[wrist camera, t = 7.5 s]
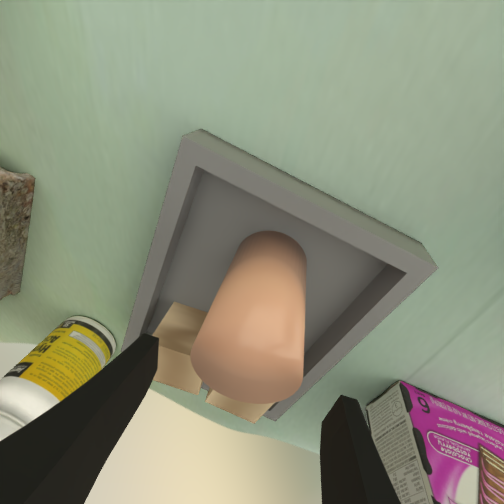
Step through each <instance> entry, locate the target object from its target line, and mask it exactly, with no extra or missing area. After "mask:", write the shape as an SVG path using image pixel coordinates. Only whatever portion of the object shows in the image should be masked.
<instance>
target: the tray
mask: <svg viewBox="0 0 504 504" xmlns="http://www.w3.org/2000/svg"><path fill="white" fill-rule="evenodd" d="M260 231H277V232H281V233H283V234H286V235H288V236H290V237H291V238H293V239H294V240H295V241H297V242H298V244H299V245H300V246H301V247H302V249H303V251H304V253H305V255H306V259H307V275H306V306H305V336H304V366H303V380H302V383H301V386H300V387H299V389H298V390H297V391H296V392H295V393H294V394H293V395H292V396H290V397H289V398H287V399H285V400H282V401H279V402H275V403H274V404H273V405H272V406H271V407H270V408H269V409H268V410H267V411H266V412H265V413H264V414H263V415H262V416H265V417H267V418H269V419H271V420H273V421H276V420H277V419H278V418H279V417H281V416H282V415H283V414H284V413H285V412H286V411H287V410H288V409H289V408H290V407H291V406H292V405H293V404H294V403H295V402H296V401H298V400H299V399H300V398H301V397H302V396H303V395H304V394H305V393H306V392H307V391H308V390H309V389H310V388H311V387H312V386H313V385H315V384H316V383H317V382H318V381H319V380H320V379H321V378H322V377H323V376H324V375H325V374H326V373H327V372H328V371H329V370H330V369H332V368H333V367H334V366H335V365H336V364H337V363H338V362H339V361H340V360H341V359H342V358H343V357H344V356H345V355H346V354H347V353H349V352H350V351H351V350H352V349H353V348H354V347H355V346H356V345H357V344H358V343H359V342H360V341H361V340H362V339H363V338H364V337H365V336H367V335H368V334H369V333H370V332H371V331H372V330H373V329H374V328H375V327H376V326H377V325H378V324H379V323H380V322H381V321H382V320H384V319H385V318H386V317H387V316H388V315H389V314H390V313H391V312H392V311H393V310H394V309H395V308H396V307H397V306H398V305H399V304H401V303H402V302H403V301H404V300H405V299H406V298H407V297H408V296H409V295H410V294H411V293H412V292H413V291H414V290H415V289H416V288H418V287H419V286H420V285H421V284H422V283H423V282H424V281H425V280H426V279H427V278H428V277H429V276H430V275H431V274H432V273H433V272H435V271H436V270H437V269H438V266H437V265H436V263H435V262H434V261H433V259H432V258H431V256H430V255H429V253H428V252H427V251H426V249H425V248H424V246H423V245H422V243H420V242H418V241H416V240H414V239H412V238H411V237H409V236H407V235H405V234H403V233H401V232H399V231H397V230H395V229H393V228H391V227H389V226H387V225H386V224H384V223H382V222H380V221H378V220H376V219H374V218H372V217H370V216H368V215H366V214H364V213H362V212H361V211H359V210H357V209H355V208H353V207H351V206H349V205H347V204H345V203H343V202H341V201H339V200H337V199H336V198H334V197H332V196H330V195H328V194H326V193H324V192H322V191H320V190H318V189H316V188H314V187H312V186H311V185H309V184H307V183H305V182H303V181H301V180H299V179H297V178H295V177H293V176H291V175H289V174H287V173H286V172H284V171H282V170H280V169H278V168H276V167H274V166H272V165H270V164H268V163H266V162H264V161H262V160H261V159H259V158H257V157H255V156H253V155H251V154H249V153H247V152H245V151H243V150H241V149H239V148H237V147H236V146H234V145H232V144H230V143H228V142H226V141H224V140H222V139H220V138H218V137H216V136H214V135H212V134H211V133H209V132H207V131H205V130H203V129H199V130H197V131H194V132H191V133H189V134H186V135H183V136H182V140H181V143H180V147H179V150H178V153H177V157H176V160H175V164H174V167H173V171H172V174H171V178H170V181H169V185H168V188H167V192H166V195H165V199H164V202H163V206H162V209H161V213H160V216H159V220H158V223H157V227H156V230H155V234H154V237H153V241H152V244H151V248H150V251H149V255H148V258H147V262H146V265H145V269H144V272H143V276H142V279H141V283H140V286H139V290H138V293H137V296H136V300H135V303H134V307H133V310H132V314H131V317H130V321H129V324H128V328H127V331H126V335H125V338H124V342H123V345H122V349H121V352H123V351H124V350H125V349H126V348H127V347H129V346H130V345H131V344H132V343H133V342H134V341H135V340H136V339H137V338H138V337H139V336H140V335H142V334H144V333H145V334H148V335H151V336H152V335H153V333H154V332H155V330H156V329H157V327H158V326H159V324H160V323H161V321H162V320H163V318H164V316H165V315H166V313H167V312H168V310H169V309H170V307H171V306H172V304H173V302H177V303H180V304H183V305H186V306H189V307H192V308H195V309H198V310H201V311H204V312H209V309H210V307H211V305H212V303H213V301H214V299H215V297H216V294H217V292H218V290H219V288H220V286H221V284H222V281H223V279H224V277H225V275H226V273H227V271H228V269H229V266H230V264H231V262H232V260H233V258H234V256H235V253H236V251H237V249H238V247H239V245H240V244H241V242H242V241H243V240H244V239H245V238H247V237H248V236H250V235H251V234H254V233H256V232H260ZM201 388H203V389H205V390H207V391H209V388H210V387H209V386H208V385H206V384H205V383H204V382H203V383H202V386H201Z"/></svg>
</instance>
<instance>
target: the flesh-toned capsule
mask: <svg viewBox="0 0 504 504" xmlns="http://www.w3.org/2000/svg"><path fill="white" fill-rule="evenodd" d="M306 275H307V259H306V255H305V253H304V251H303V249H302V247H301V246H300V245H299V244H298V242H297V241H295V240H294V239H293V238H291V237H290V236H288V235H286V234H283V233H281V232H277V231H260V232H256V233H254V234H251V235H250V236H248V237H247V238H245V239H244V240H243V241H242V242H241V244H240V245H239V247H238V249H237V251H236V253H235V256H234V258H233V260H232V262H231V264H230V266H229V269H228V271H227V273H226V275H225V277H224V279H223V281H222V284H221V286H220V288H219V290H218V292H217V294H216V297H215V299H214V301H213V303H212V305H211V307H210V309H209V312H208V314H207V316H206V318H205V320H204V322H203V324H202V327H201V329H200V331H199V333H198V335H197V337H196V340H195V342H194V344H193V346H192V349H191V355H190V358H191V363H192V366H193V368H194V370H195V372H196V374H197V375H198V376H199V378H200V379H201V380H202V381H203V382H204V383H205V384H206V385H208V386H209V387H210V388H211V389H213V390H215V391H216V392H218V393H220V394H222V395H224V396H226V397H228V398H231V399H234V400H237V401H241V402H246V403H253V404H269V403H275V402H279V401H282V400H285V399H287V398H289V397H290V396H292V395H293V394H294V393H295V392H296V391H297V390H298V389H299V387H300V386H301V383H302V380H303V366H304V336H305V306H306Z"/></svg>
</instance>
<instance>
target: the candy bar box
mask: <svg viewBox="0 0 504 504" xmlns="http://www.w3.org/2000/svg"><path fill="white" fill-rule="evenodd" d="M366 411H367V418H368V423H369V429H370V433H371V436H372V438H373V441H374V443H375V446H376V448H377V450H378V453H379V455H380V458H381V460H382V462H383V464H384V467H385V469H386V471H387V474H388V476H389V478H390V480H391V483H392V485H393V487H394V489H395V491H396V493H397V496H398V498H399V500H400V502H401V504H504V426H503V425H500V424H498V423H496V422H494V421H492V420H489V419H487V418H485V417H482V416H480V415H478V414H476V413H473V412H471V411H468V410H466V409H464V408H462V407H459V406H457V405H455V404H453V403H450V402H448V401H446V400H443V399H441V398H439V397H437V396H434V395H432V394H430V393H428V392H425V391H423V390H421V389H419V388H416V387H414V386H412V385H409V384H407V383H405V382H403V381H400V380H399V381H398V382H396V383H395V384H393V385H392V386H390V387H389V388H388V389H387V390H386V391H385V392H384V393H383V394H382V395H381V396H379V397H378V398H376V399H375V400H374V401H372V402H371V403H370V404H369V405H368V406H367V407H366Z"/></svg>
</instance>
